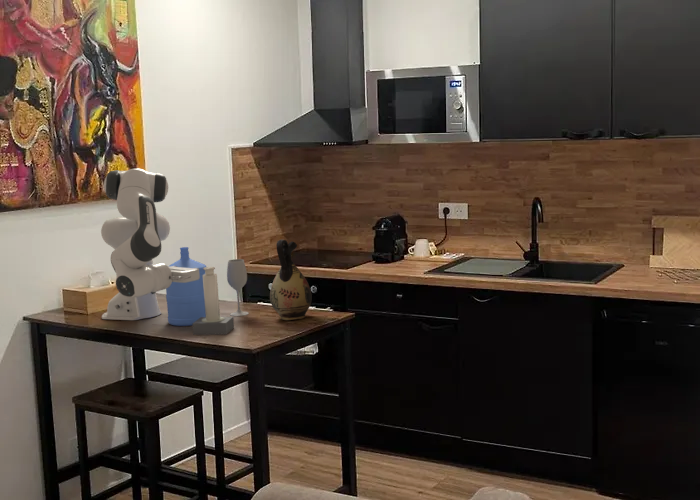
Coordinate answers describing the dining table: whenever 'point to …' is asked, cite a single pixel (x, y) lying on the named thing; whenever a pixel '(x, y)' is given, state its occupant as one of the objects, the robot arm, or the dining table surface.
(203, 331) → the plinth
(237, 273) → the wineglass
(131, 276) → the robot arm
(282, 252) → the ceramic jug
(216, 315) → the vase
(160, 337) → the dining table surface
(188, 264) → the water jug
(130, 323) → the dining table surface
